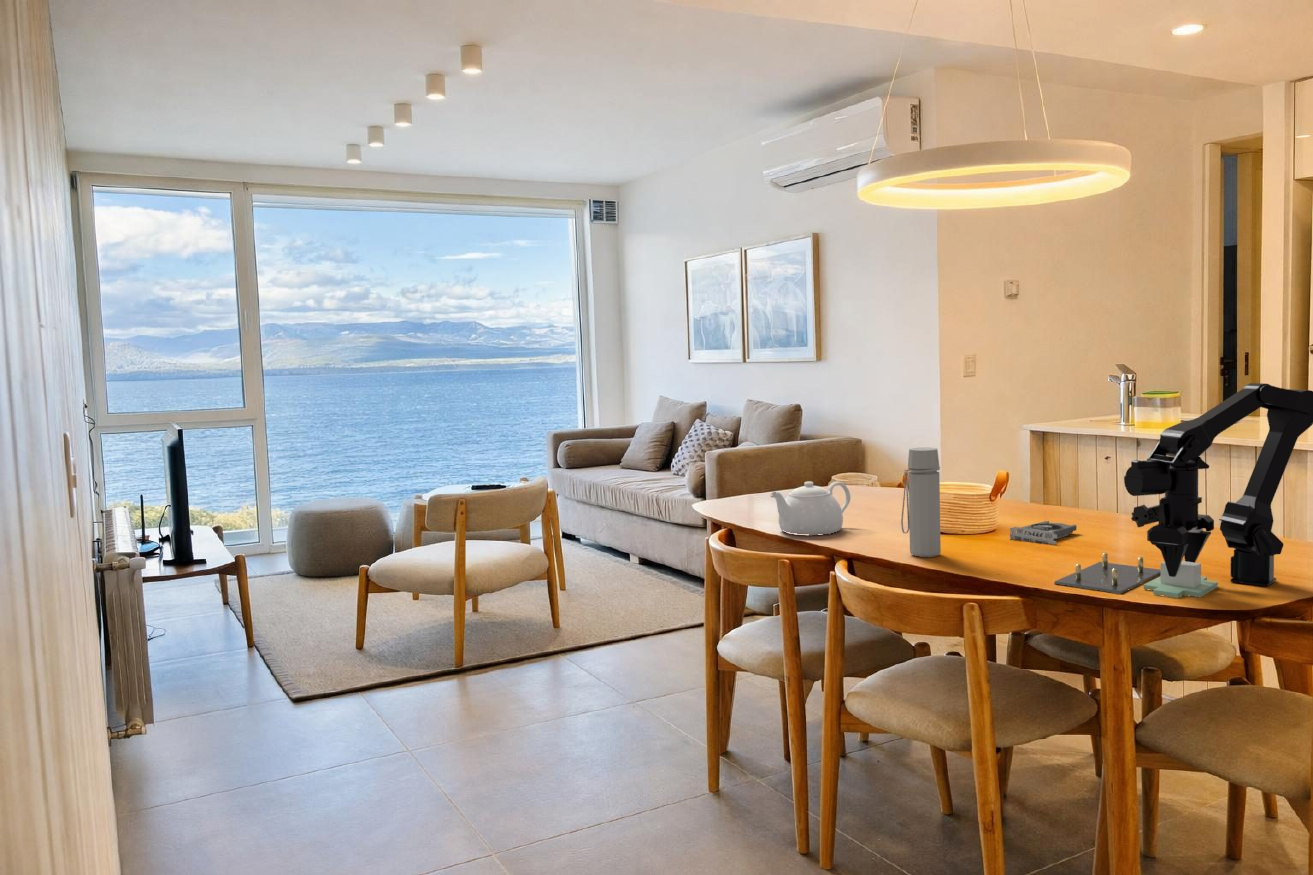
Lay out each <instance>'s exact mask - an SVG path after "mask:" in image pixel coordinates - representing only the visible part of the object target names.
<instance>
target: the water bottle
mask: <svg viewBox="0 0 1313 875" xmlns="http://www.w3.org/2000/svg"><path fill="white" fill-rule="evenodd" d="M907 460H908V461H907V468H908V469H904V470H903V474H904V477H905V478H904V486H903V487H904V489H903V498H902V510H901V520H900V523H901V524H900V525H901V531H902V534H908V533H909V553H910V555H912V554H913V555H912V556H914V555H915V556H914V557H916V556H922V557H921V558H935V557H938V556H939V555H940V554H941V551H942V549H941V543H942V542H941V496H940V494H941V493H940V492H941V491H940V490H941V489H940V484H941V483H940V472H939V471H940V469H941V467H940V459H939V451H938V448H937V447H911V448H909V450H908V459H907ZM905 498H906V509H907V510H906V511H907V512H906V513H907V531H905V528H904V523H903V522H904V509H905ZM934 556H935V557H934Z"/></svg>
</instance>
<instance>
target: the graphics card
mask: <svg viewBox="0 0 1313 875" xmlns="http://www.w3.org/2000/svg"><path fill="white" fill-rule="evenodd" d="M1009 531H1010V532H1009V540H1017V541H1023V542H1025V543H1030V542H1032V543H1036V544H1040V545H1041V544H1042V545H1046V544H1047V545H1053V546H1057V545H1058V542H1057V541H1055V540H1057V539H1060V538H1064V537H1068V536H1069V535H1070V534H1074V533H1073V532H1076V531H1077V525H1076V524H1071V525H1070V524H1067V523H1062V522H1050V521H1049V520H1044V521H1041V522H1037V523H1033V524H1029V525H1024V526H1021V527H1020V526H1012V527H1009Z"/></svg>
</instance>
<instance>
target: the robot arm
mask: <svg viewBox="0 0 1313 875" xmlns="http://www.w3.org/2000/svg"><path fill="white" fill-rule="evenodd" d="M1260 408H1262V409H1266V410H1267V412H1266V417H1267V418H1266V419H1267V422H1268V427H1269V429H1268V433H1267V436H1266V437H1265V440H1264V442H1263V444H1262V445H1263V446H1262V447H1261V449H1260V453H1259V454H1258V458H1257V459H1256V463H1255V465H1254V467H1253V470H1252V472H1251V475H1250V477H1249V479H1248V481H1247V484H1246V488H1245V490H1244V492H1243V494H1242V496H1241V498H1239V499H1238V500H1236V501H1235V502H1233V501H1227V503H1226V504H1225V506H1224V510H1223V513H1222V515H1221V516H1220V517H1219V519H1218V520H1219V521H1220V525H1219V531H1221V534H1222V536H1223V537H1224V540H1225V542H1226V545H1227V548H1229V549H1234V550H1233V555H1232V556H1231V557H1230V582H1231V583H1236V584H1243V585H1244V584H1246V585H1252V586H1260V587H1269V586H1270V585H1272V584H1273V583H1275V582H1277V578H1276V577H1275V576H1274V575H1275V555H1281V553H1282V551H1283V548H1284V542H1282V541H1281V539H1279V538H1278V536H1276V535H1275V533H1273V531H1272V529H1273V524H1274V517H1273V516H1274V515H1273V511H1272V502H1273V500H1274V497H1275V496H1276V493H1277V491H1278V488H1279V485H1280V483H1281V480H1282V478H1283V476H1284V473H1285V471H1286V468H1287V465H1288V463H1289V460H1290V459H1291V456H1292V453H1293V452H1294V451H1293V450H1294V448H1295V446H1296V444H1297V441H1298V439H1299V437H1300V436H1302V434H1303V433H1304V432H1306V431H1307V430H1309V429H1310V428H1311V427H1312V426H1313V390H1310V389H1293V388H1292V389H1291V388H1290V389H1289V388H1283V387H1278V386H1274V385H1271V384H1269V383H1262V382H1261V383H1258V382H1257V383H1256V382H1251V383H1247V384H1246V385H1244V386H1242V389H1240V390H1239V391H1238V392H1235V393H1234V394H1232V395H1231V396H1230V397H1228V398H1226V399H1224V400H1223V401H1222V402H1220V403H1218V404H1217V405H1216V406H1214V407H1212V408H1211V409H1209V410H1208V411H1206V412H1204V413H1203V414H1201V415H1200V416H1198V417H1196V418H1193V419H1190V420H1186V421H1182V422H1179V423H1177V424H1174V425H1172V426H1169V427H1167V428H1165V429H1164V430H1163V431H1162V432H1161V433H1160V434H1159V436H1160V438H1159V440H1158V442H1157V443H1156V445H1155V446H1154V447H1153V450H1152V451H1151V452H1150V454H1149V455H1148V457H1147V458H1146V460H1139V459H1134V460H1131V461H1130V462H1131V463H1130V467H1128V468H1127V470H1126V471H1125V475H1124V476H1123V480H1124V481H1123V482H1124V483H1123V484H1124V487H1125V489H1126V491H1127V493H1128V494H1129V495H1131V496H1133V497H1137V496H1141V497H1142V496H1155V495H1164V497H1161V498H1160V499H1159V504H1157V505H1156V504H1155V505H1152V506H1149V507H1147V505H1145V504H1142V505H1138V506H1135V507H1133V512H1131V518H1130V519H1131V521H1132V522H1135V524H1136V526H1137V528H1141V527H1145V525H1149V524H1154V523H1158V524H1156V525H1153V526H1152V527H1150V528H1149V529H1147V530H1146V532H1147V533H1146V539H1147V541H1148V542H1150V544H1151V545H1153V546H1155V547H1156V548H1157V549H1159V551H1160V552H1161V556H1162V558H1163V562H1164V561H1165V564H1166V568H1167V571H1168V574H1169V576H1171V577H1175V576H1176V575H1177V572H1178V570H1179V567H1180V565H1181V562H1182V561H1183V559H1184V561H1186V562H1194V563H1197V560H1198V558H1199V556H1200V554H1201V552H1202V550H1203V548H1204V547H1205V544H1206V543H1207V541H1208V540H1209V538H1210V536H1211V535H1212V532H1211V531H1213V530H1214V529H1215V520H1214V518H1212V517H1211V516H1210V515H1208V514H1199V504H1201V503H1203V501H1202V500H1203V498H1202V497H1201V496H1200V497H1199V470H1205V469H1206V470H1207V469H1209V468H1210V465H1209V464H1208V463H1207V462H1206V461H1204V460H1203V459H1202V458H1201V456H1202V455H1203V454H1204V453H1205V452H1206V451H1207V450H1208V449H1209V448H1210V447H1211V446H1212V444H1213V442H1214V440H1215V438H1216V437H1218V436H1219V435H1220V434H1221V433H1223V432H1224V431H1226V430H1227V429H1229V428H1231V427H1232V426H1234V425H1236V424H1237V423H1238V422H1240V421H1242V420H1243V419H1244V418H1246V417H1247V416H1249V415H1251V414H1252V413H1254V412H1255V411H1257V410H1258V409H1260ZM1204 529H1205V530H1204Z"/></svg>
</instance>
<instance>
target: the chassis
mask: <svg viewBox="0 0 1313 875" xmlns="http://www.w3.org/2000/svg"><path fill="white" fill-rule="evenodd" d="M1108 555H1109V554H1108V552H1102V561H1098V562H1097V563H1093V564H1092V565H1089V566H1087V567H1085V568H1082V565H1081V564H1080V563H1076V564H1075V572H1073V573H1070V574H1068V575H1066V576H1063V577H1061V578H1059V579H1056V580H1055V581H1054V585H1056V584H1061V585H1060V586H1063V585H1067V586H1066V587H1070V586H1073V587H1072V588H1077V587H1078V588H1077V589H1083V590H1090V589H1094V590H1093V591H1097V590H1100V591H1099V592H1104V591H1105V592H1104V593H1112V594H1118V595H1119V594H1121V595H1122V594H1124V593H1125V591H1126V592H1127V590H1128V589H1130V590H1132V589H1134V588H1136V587H1138V586H1139V585H1138V584H1140V583H1142V584H1145V581H1146V582H1147V580H1148V581H1150V580H1151V578H1152V579H1155V578H1157V577H1159V576H1160V574H1161V568H1152V567H1151V568H1150V567H1145V566H1144V557H1142V556H1138V557H1137V566H1135V565H1129V564H1128V565H1126V564H1120V563H1112V562H1109V559H1108V558H1109V556H1108ZM1149 579H1150V580H1149ZM1137 585H1138V586H1137ZM1140 585H1141V584H1140ZM1135 586H1136V587H1135ZM1133 587H1134V588H1133ZM1128 591H1129V590H1128ZM1123 592H1124V593H1123Z"/></svg>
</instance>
